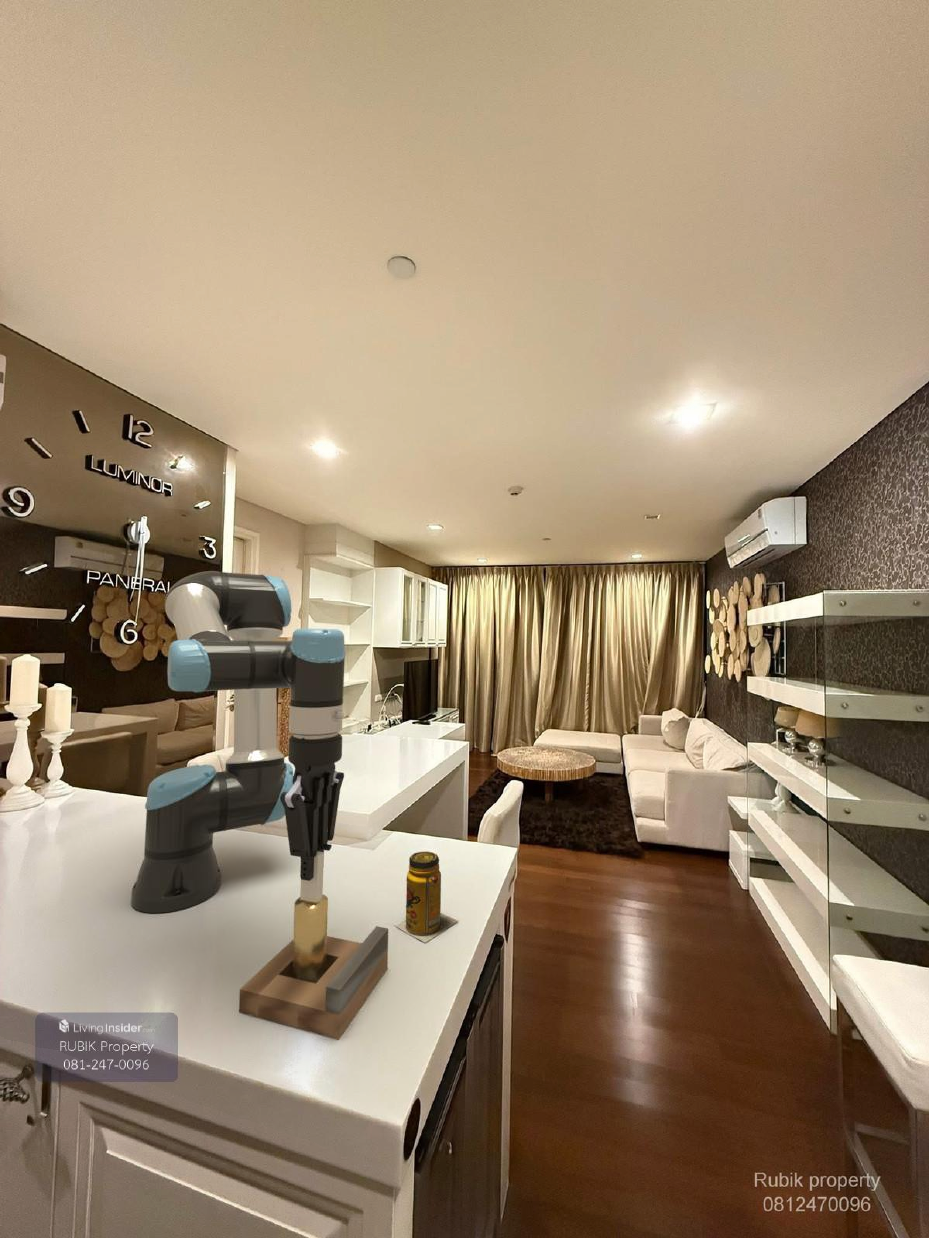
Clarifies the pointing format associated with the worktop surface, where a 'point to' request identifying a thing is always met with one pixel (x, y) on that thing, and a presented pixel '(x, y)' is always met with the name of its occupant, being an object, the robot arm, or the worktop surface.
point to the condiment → (424, 898)
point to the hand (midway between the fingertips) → (311, 898)
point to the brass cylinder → (310, 939)
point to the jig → (318, 986)
